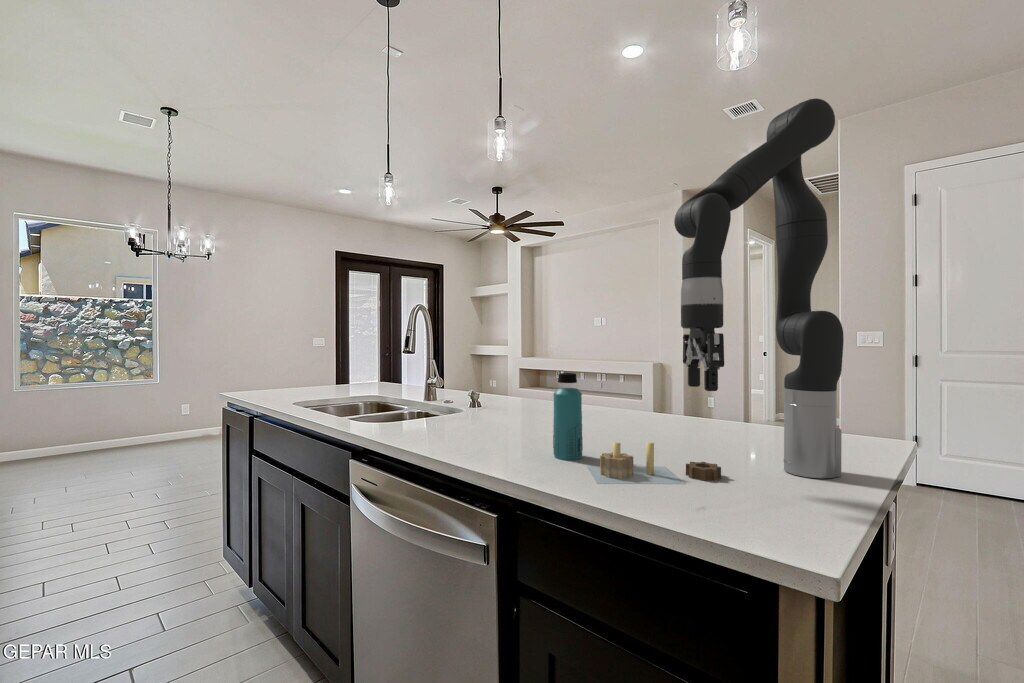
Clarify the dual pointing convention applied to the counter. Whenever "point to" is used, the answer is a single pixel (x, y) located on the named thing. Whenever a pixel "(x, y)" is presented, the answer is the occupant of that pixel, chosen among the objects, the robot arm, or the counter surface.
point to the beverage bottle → (567, 420)
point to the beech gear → (616, 466)
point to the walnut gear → (703, 471)
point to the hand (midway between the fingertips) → (702, 388)
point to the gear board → (639, 471)
